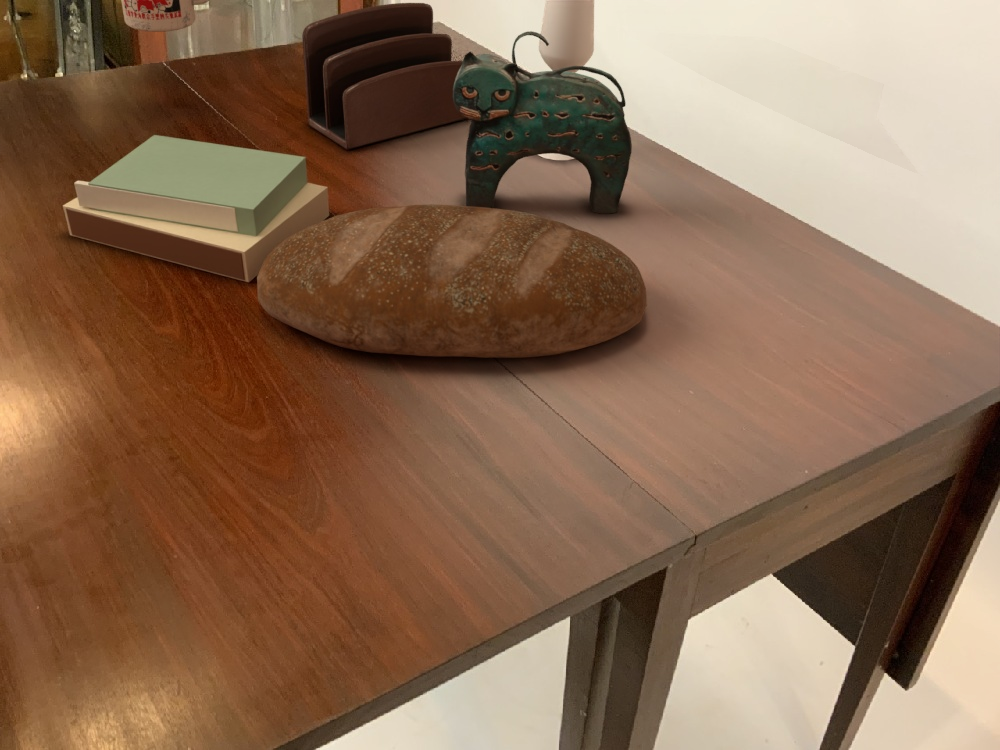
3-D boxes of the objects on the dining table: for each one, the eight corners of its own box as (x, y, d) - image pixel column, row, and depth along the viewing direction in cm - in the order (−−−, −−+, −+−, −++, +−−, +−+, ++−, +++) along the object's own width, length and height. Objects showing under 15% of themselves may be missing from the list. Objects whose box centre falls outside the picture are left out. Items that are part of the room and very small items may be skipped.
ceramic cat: (450, 215, 110) (453, 36, 98) (452, 189, 115) (455, 17, 103) (625, 220, 111) (649, 44, 99) (619, 195, 116) (640, 24, 104)
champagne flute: (582, 140, 129) (601, -53, 114) (584, 161, 123) (605, -39, 109) (531, 137, 128) (544, -56, 114) (531, 158, 123) (545, -42, 109)
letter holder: (307, 125, 128) (298, 16, 120) (429, 96, 139) (429, -6, 130) (347, 151, 122) (341, 39, 114) (472, 119, 133) (475, 13, 124)
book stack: (69, 235, 102) (55, 178, 99) (165, 176, 115) (156, 124, 111) (248, 283, 96) (240, 224, 93) (329, 215, 109) (325, 161, 105)
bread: (282, 243, 103) (274, 169, 98) (630, 255, 104) (640, 183, 99) (238, 365, 85) (226, 282, 80) (657, 378, 87) (671, 298, 81)
